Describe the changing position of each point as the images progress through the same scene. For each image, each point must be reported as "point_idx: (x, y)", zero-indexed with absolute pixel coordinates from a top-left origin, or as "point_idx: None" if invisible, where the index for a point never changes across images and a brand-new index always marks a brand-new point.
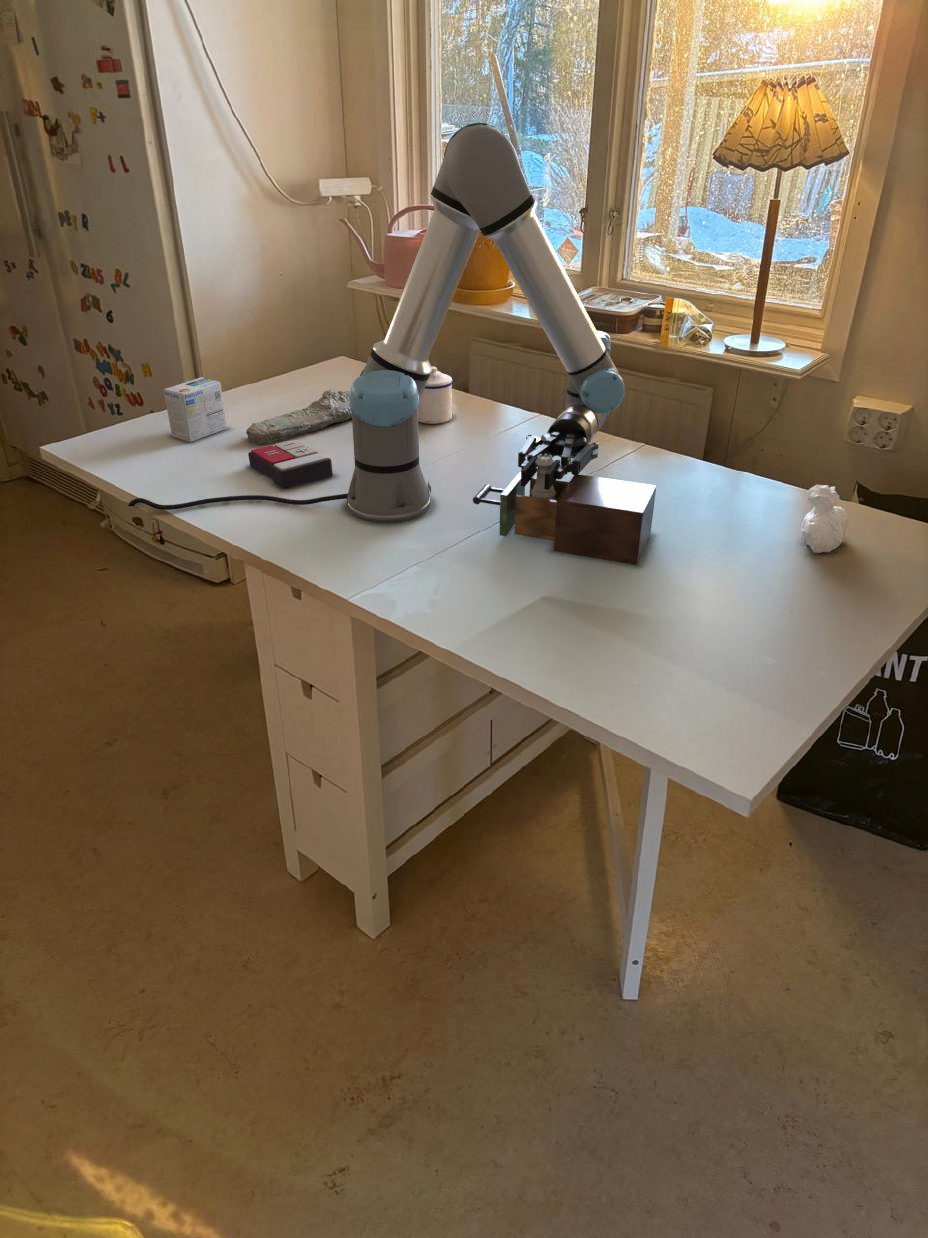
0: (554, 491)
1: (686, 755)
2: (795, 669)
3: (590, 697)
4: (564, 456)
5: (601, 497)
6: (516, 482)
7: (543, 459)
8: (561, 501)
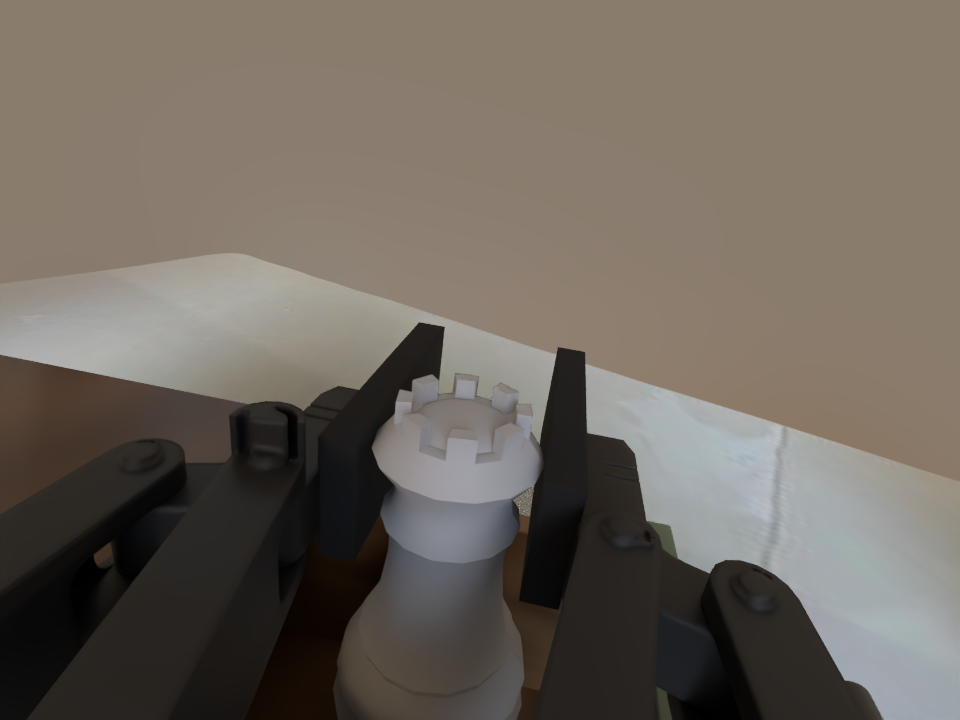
0: (351, 630)
1: (271, 268)
2: (7, 307)
3: (353, 302)
4: (274, 409)
5: (98, 442)
6: (666, 702)
7: (471, 377)
8: None
